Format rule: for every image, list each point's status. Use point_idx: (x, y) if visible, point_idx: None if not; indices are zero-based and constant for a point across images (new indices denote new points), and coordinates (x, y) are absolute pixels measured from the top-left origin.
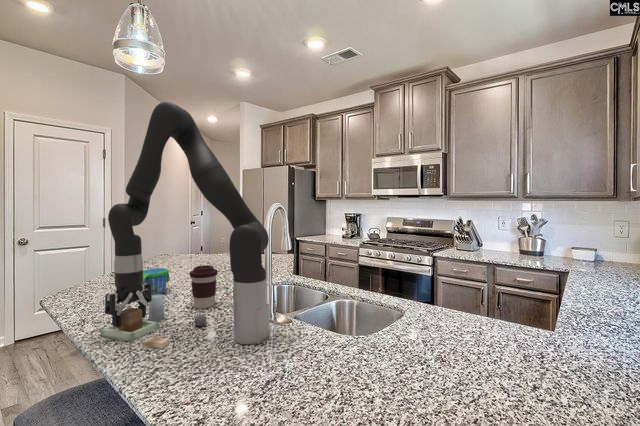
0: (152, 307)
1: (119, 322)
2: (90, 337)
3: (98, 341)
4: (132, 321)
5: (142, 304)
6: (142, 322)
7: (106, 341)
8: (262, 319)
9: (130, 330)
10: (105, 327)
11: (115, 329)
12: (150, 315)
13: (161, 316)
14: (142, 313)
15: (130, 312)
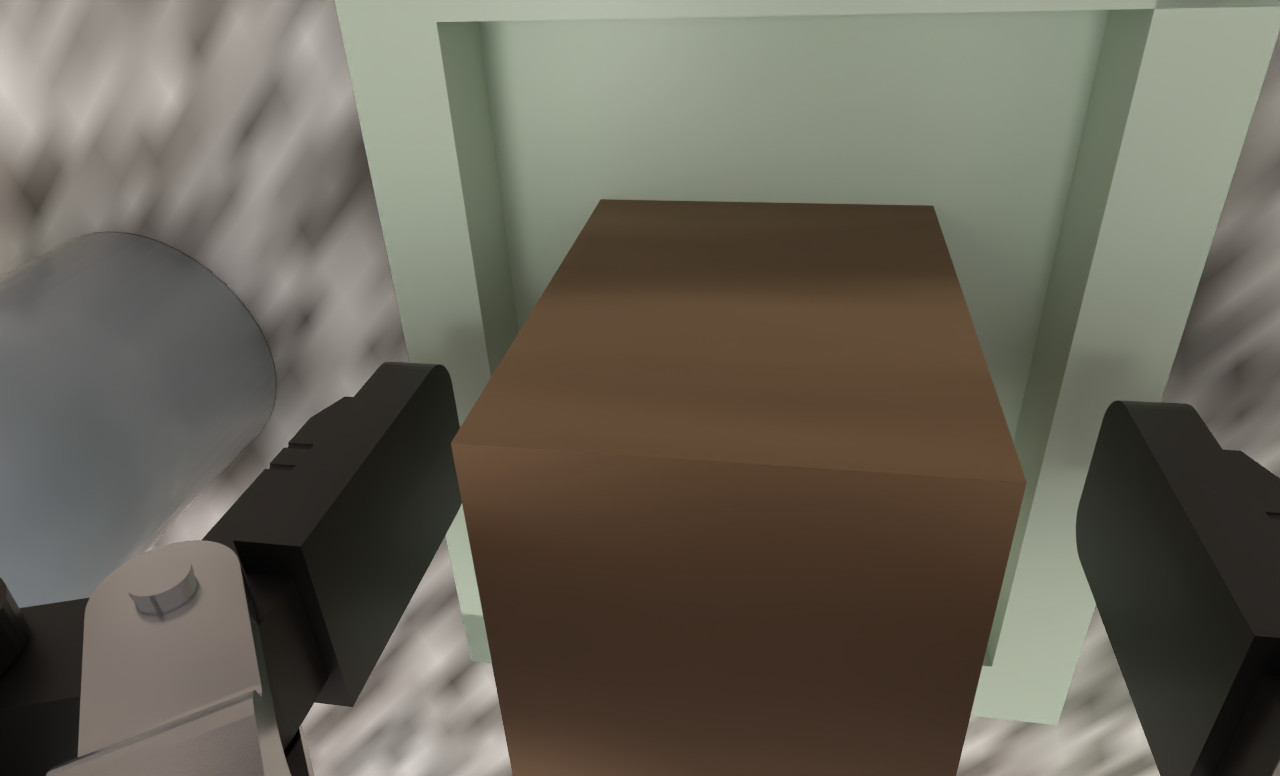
0: (49, 500)
1: (1218, 476)
2: (1104, 708)
3: None
4: (865, 318)
5: (264, 635)
6: (491, 328)
7: (1255, 394)
8: None
9: (916, 232)
10: None
11: None
12: (202, 433)
13: (59, 264)
14: (406, 444)
15: (866, 548)
